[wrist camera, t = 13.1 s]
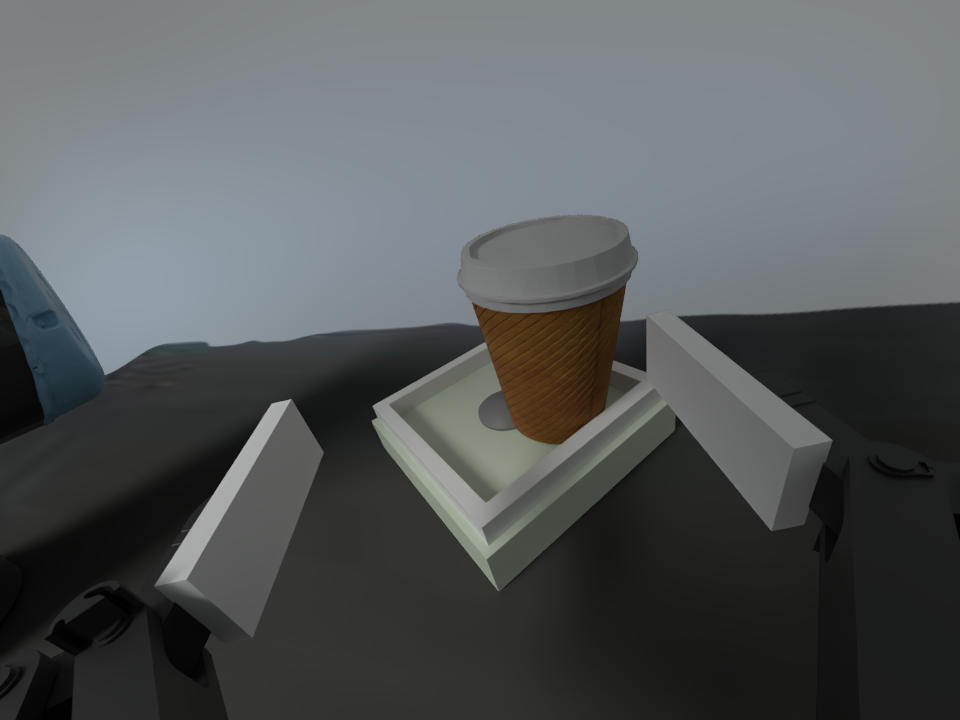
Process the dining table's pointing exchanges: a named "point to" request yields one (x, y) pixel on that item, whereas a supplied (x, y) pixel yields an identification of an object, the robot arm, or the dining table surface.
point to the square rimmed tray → (512, 458)
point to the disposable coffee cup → (550, 315)
